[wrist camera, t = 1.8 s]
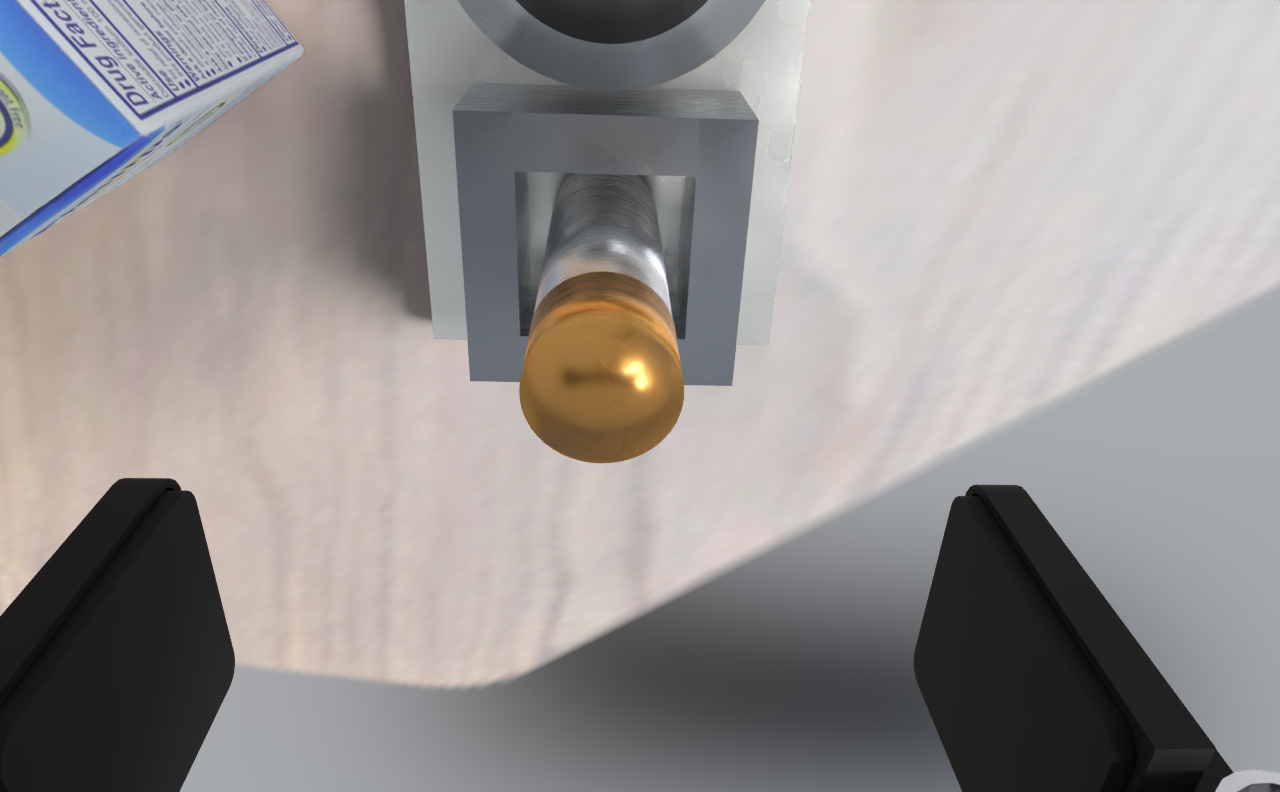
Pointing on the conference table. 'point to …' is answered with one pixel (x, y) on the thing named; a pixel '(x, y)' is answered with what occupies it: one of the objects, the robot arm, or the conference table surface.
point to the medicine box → (116, 92)
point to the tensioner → (605, 155)
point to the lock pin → (602, 326)
